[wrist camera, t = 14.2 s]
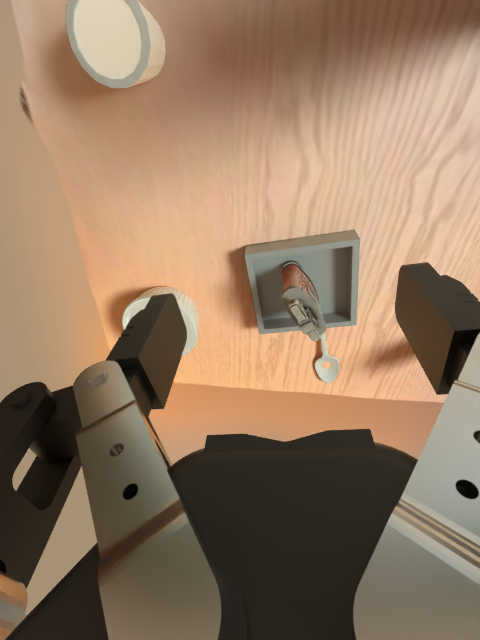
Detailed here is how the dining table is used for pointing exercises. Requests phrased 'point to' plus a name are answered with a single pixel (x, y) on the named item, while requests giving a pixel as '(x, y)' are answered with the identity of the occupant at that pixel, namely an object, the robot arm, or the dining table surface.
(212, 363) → the dining table surface
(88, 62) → the cream cup
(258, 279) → the tray
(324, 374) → the spoon
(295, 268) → the lighter
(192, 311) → the ramekin
